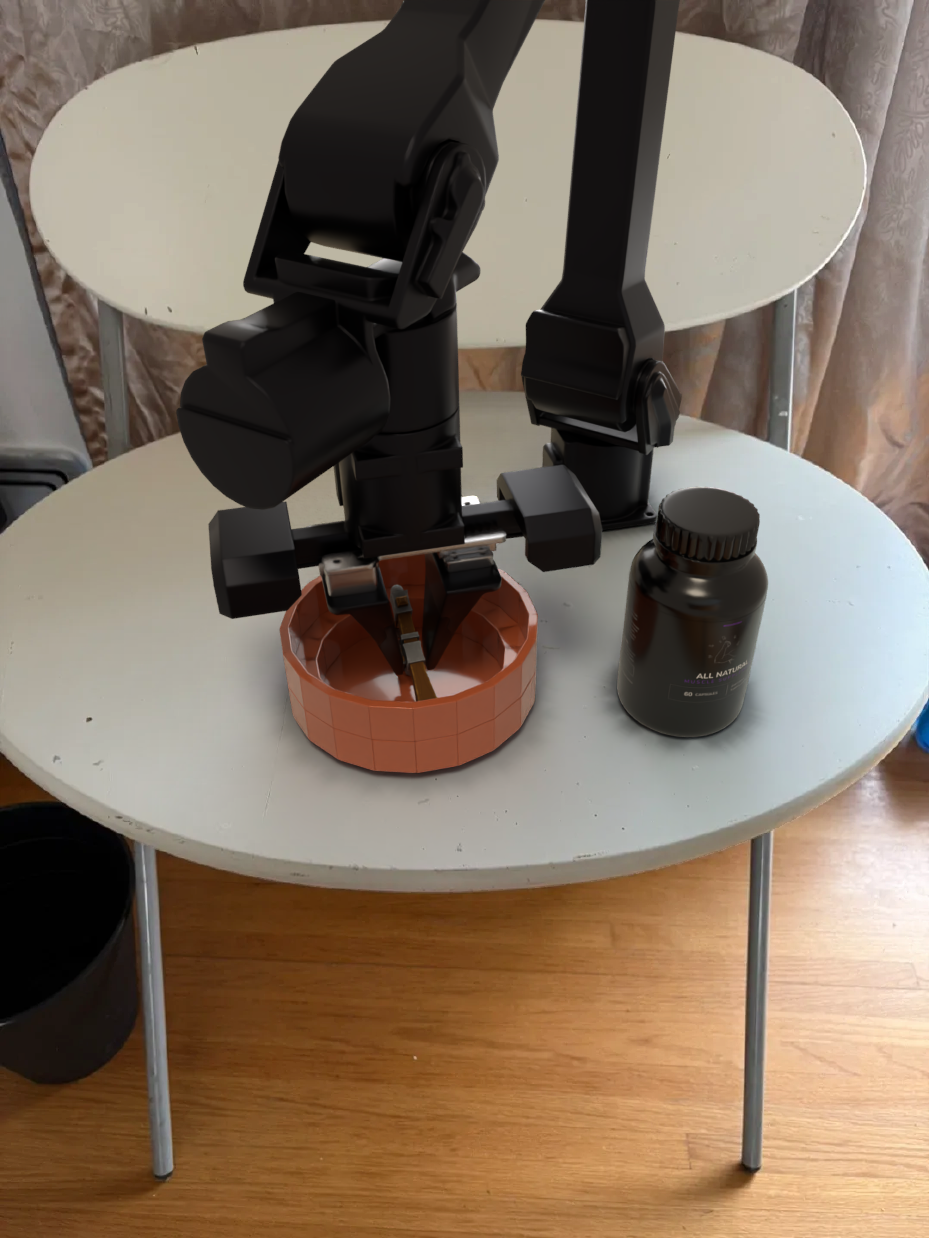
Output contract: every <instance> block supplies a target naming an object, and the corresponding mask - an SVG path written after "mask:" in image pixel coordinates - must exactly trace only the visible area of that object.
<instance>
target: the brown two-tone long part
mask: <svg viewBox="0 0 929 1238" xmlns="http://www.w3.org/2000/svg"><path fill="white" fill-rule="evenodd" d="M390 592H391V593H390V602H391V605H392V609H393V613H394V615H393V620H394V624H395V628H396V632H397V636H398V638H400V639H398V640H399V644H400V648H401V652H402V656H403V671H405V673H406V674H407V675H408V676H411V678H412V682H413V687H414V693H415V699H416V701H422V700H428V699H434V698H437V696H436V694H435V691H434V689H433V687H432V684H431V682H430V680H429V677H428V675H427V672H426V669H425V658H424V656H423V652H422V648H421V641H419V635H418V632H415V629H414V625H413V621H412V612H413V610H412V608H411V605H410V601H409V597H408V590H403V588H402V587H401V586H400V585H394V586H393V587H392V588H391V591H390Z"/></svg>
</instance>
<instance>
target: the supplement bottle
mask: <svg viewBox="0 0 929 1238" xmlns="http://www.w3.org/2000/svg"><path fill="white" fill-rule="evenodd" d="M760 516H761V515H760V513H759V511H758V508H757V507H756V506H755V504H754V503H752V502H751V501H750V500H749V499H748V498H745V497H744V496H743V495H742V494H737V493H736V492H735V491H730V490H727V489H724V488H718V487H715V486H714V487H710V486H693V487H690V486H687V487H685V488H678V489H677V490H672V491H671V492H670V493H667V494H666V495H665V497H663V498H661V502H659V504H658V509H657V520H656V522H655V523H654V528H653V534H652V538H651V539H649V540H648V541H647V542H645V543H644V544H643V545H642V546H641V547H640V548H639V549H638V551H637V552H636V553H635V555H634V557H633V558H632V561H631V564H630V569H629V574H628V575H629V576H628V583H627V592H626V600H625V608H624V618H623V625H622V626H623V627H622V636H621V642H620V643H621V644H620V651H619V661H618V671H617V679H616V680H617V681H616V688H617V689H616V691H617V695H618V698H619V701H620V703H621V705H622V706H623V708H624V709H625V711H626V712H627V713H628V714H629V715H630V716H631V717H632V718H633V719H634V720H635V721H637V722H638V723H639V724H641V725H643V726H644V727H646V728H648V729H649V730H651V731H652V730H653V731H655V732H657V733H660V734H663V735H667V736H672V737H680V738H698V737H699V738H700V737H705V736H708V735H712V734H715V733H717V732H719V731H721V730H724V729H725V728H727V727H728V726H730V725H731V724H732V723H733V722H734V721H735V720H736V719H737V718H738V716H739V714H740V712H741V711H742V708H743V705H744V701H745V697H746V692H747V688H748V685H749V679H750V675H751V671H752V670H751V669H752V666H753V661H754V656H755V652H756V647H757V642H758V637H759V633H760V628H761V624H762V619H763V616H764V615H763V614H764V609H765V605H766V600H767V596H768V590H769V576H768V571H767V569H766V566H765V565H764V563H763V561H762V559H761V558H760V557H759V556H758V554H757V553H756V550H757V547H758V546H757V545H758V534H759V529H760V523H761V521H760V520H761V519H760V518H761V517H760Z"/></svg>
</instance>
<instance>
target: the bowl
mask: <svg viewBox="0 0 929 1238" xmlns="http://www.w3.org/2000/svg"><path fill="white" fill-rule="evenodd" d="M379 568H380V571H381V575H382V578H383V582H384V585H385V589H386V592H387V596H388V599H389V603H390V608H391V612H392V616H393V615H394V613H393V609H392V605H391V602H390V593H391V592H390V591H391V588H392V587H393V586H394V585H400V586H401V587H402V588H403V590H408V597H409V601H410V605H411V608H412V610H413V612H412V621H413V625H414V629H415V632H418V635H419V641H421V648H422V652H423V644H422V624H423V607H424V590H425V575H426V574H425V573H426V566H425V554H422V555H415V556H408V557H401V558H394V559H387V560H381V561H379ZM498 570H499V573H500V575H501V578H502V580H501V587H500V588H499V589H498V590H497V591H494V592H489V593H485V594H484V595H482V597H481V598H480V599H479V601H478V602H477V603H476V604H475V606H474V607H473V608H472V610H471V611H470V612H469V614H468V615H467V616H466V617H465V619H464V620H463V621H462V623H461V624H460V625H459V627H458V629H457V630H456V632H455V634H454V635H453V637H452V639H451V641H450V642H449V644H448V646H447V648H446V650H445V651H444V653H443V655H442V657H441V658H440V660H439V662H438V664H437V665H436V667H435V669H433V670H427V668H426V664H425V669H426V672H427V675H428V677H429V680H430V682H431V684H432V687H433V689H434V691H435V694H436V696H437V698H434V699H428V700H422V701H416V699H415V693H414V687H413V682H412V678H411V676H408V675H407V674H406V673H405V671H403V674H402V675H395V673H394V671H393V670H392V668H391V666H390V665H389V663H388V661H387V660H386V658H385V656H384V655H383V653H382V652H381V650H380V648H379V647H378V645H377V644H376V642H375V641H374V639H373V638H372V637H371V636H370V634H369V633H368V632H367V631H366V630H365V629H364V628H363V627H362V626H361V625H360V624H359V623H358V622H357V621H356V620H355V619H354V617H353V616H352V615H350V614H344V615H335V614H332V613H331V612H330V611H329V610H328V607H327V602H326V597H325V592H324V587H323V582H322V578H321V576H320V575H319V576H317V577H314V579H312V580H310V581H309V582H307V583H306V584H305V586H304V587H303V588H301V593H302V595H301V596H300V598H299V599H298V600H297V601H296V602H295V603H294V604H293V605H292V606H291V607H290V608H289V609H288V610H287V611H284V615H283V618H282V620H281V623H280V626H279V637H280V644H281V651H282V657H283V664H284V670H285V676H286V682H287V686H288V695H289V700H290V707H291V713H292V717H293V719H294V720H295V722H296V724H298V726H299V728H300V729H301V730H302V731H303V734H304V735H305V736H306V738H307V739H308V741H310V742H311V743H312V744H314V745H315V746H317V747H319V748H320V749H322V750H323V751H324V752H326V753H327V754H329V755H331V756H332V757H333V758H335V759H337V760H338V761H341V762H345V763H347V764H351V765H354V766H356V767H361V768H364V769H367V770H370V771H374V772H375V771H376V772H391V773H406V774H409V773H410V774H416V773H417V774H419V773H425V772H431V771H436V770H442V769H443V770H444V769H448V768H453V767H459V766H462V765H464V764H466V763H469V762H471V761H473V760H476V759H478V758H480V757H482V756H484V755H486V754H490V753H491V752H494V751H495V750H496V749H497V748H499V747H500V746H501V745H502V744H503V743H504V742H506V741H507V740H508V739H510V737H512V736H513V735H514V734H515V733H516V732H517V731H519V730H520V729H521V727H522V725H523V724H524V722H525V721H526V718H527V716H528V715H529V713H530V711H531V710H532V707H533V706H534V704H535V702H536V688H537V687H536V685H537V684H536V683H537V662H538V661H537V660H538V631H539V630H538V629H539V628H538V627H539V626H538V625H539V613H538V612H537V610H536V607H535V605H534V603H533V601H532V598H531V597H530V594H529V592H528V591H527V589H526V588H525V587H523V586H522V585H521V584H520V583H519V582H518V581H517V580H515V579H514V578H513V577H512V576H511V575H510V574H509V573H508V572H506V571H505V570H502V569H501V568H498ZM398 639H400V638H398ZM423 656H424V655H423Z"/></svg>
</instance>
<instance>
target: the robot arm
mask: <svg viewBox="0 0 929 1238" xmlns="http://www.w3.org/2000/svg"><path fill="white" fill-rule="evenodd" d="M545 2H546V0H403V1H402V3H401V5H400V7H399V9H398V10H397V12H396V13H395V14H394V16H393V17H392V18H391V19H390V21H388V24H386V25H385V27H384V28H383V29H382V30H381V31H380V32H378V33H376V34H375V35H374V36H371V37H370V38H368V39H366V41H364V42H363V43H361V44H359V45H358V46H356V47H354V48H353V49H351V50H349V51H348V52H346V53H345V54H343V55H342V56H340V57H338V58H337V59H336V60H334V62H333V63H331V65H330V66H329V68H328V69H327V70H326V71H325V73H324V74H323V75H322V77H321V78H319V80H318V81H317V83H316V85H314V86H313V88H312V89H311V91H310V92H309V93H308V95H307V96H306V97H305V98H304V100H303V101H302V102H301V103H300V105H299V106H298V108H297V109H296V110H295V112H294V113H293V115H292V117H291V118H290V120H289V121H288V125H287V127H286V129H285V132H284V135H283V137H282V139H281V142H280V147H279V151H278V152H279V153H278V157H277V159H278V160H277V164H276V167H275V171H274V174H273V178H272V181H271V185H270V188H269V191H268V195H267V198H266V201H265V205H264V209H263V212H262V216H261V219H260V223H259V226H258V229H257V232H256V236H255V240H254V243H253V247H252V250H251V252H250V257H249V260H248V264H247V266H246V271H245V273H244V277H243V281H242V287H243V290H244V291H245V292H246V293H247V294H251V295H254V296H259V297H264V298H267V299H271V300H272V301H273V303H272V304H270V305H267V306H266V307H263V308H262V309H259V310H257V311H255V312H253V313H252V314H249V315H248V316H245V317H243V318H240V319H233V320H227V321H225V322H222V323H220V324H218V325H215V326H214V327H212V328H210V329H207V330H206V331H204V333H203V335H202V338H201V341H202V347H203V352H204V358H205V363H206V364H204V365H202V366H200V367H199V368H196V369H195V370H193V371H192V372H191V373H190V374H189V375H188V377H186V379H185V380H184V382H183V386H182V388H181V391H180V399H179V407H178V408H177V409H176V412H175V413H176V420H177V424H178V425H177V426H178V429H179V432H180V435H181V439H182V441H183V444H184V445H185V448H186V449H187V452H188V454H189V456H190V458H191V459H192V461H193V462H194V464H195V465H196V467H197V468H198V470H199V471H200V473H201V474H202V475H203V476H204V478H205V479H207V481H208V482H209V483H210V484H211V485H212V486H213V487H214V488H215V489H216V490H218V492H220V493H221V494H222V495H224V496H225V497H226V498H228V499H229V500H230V501H233V502H234V503H236V504H238V505H240V506H241V507H234V508H233V507H232V508H226V509H220V510H219V509H218V510H217V511H216V513H214V515H213V517H212V518H211V520H209V523H208V524H207V525H208V539H209V554H210V555H209V557H210V571H211V577H212V578H211V579H212V583H213V589H214V595H215V599H216V604H217V609H218V612H219V615H221V616H224V617H226V618H229V619H231V620H234V619H235V620H236V619H241V618H248V617H253V616H254V617H255V616H262V615H269V614H275V613H281V612H286V611H287V610H288V609H289V608H290V607H291V606H292V605H293V604H294V603H295V602H296V601H297V600H298V599H299V598H300V596H301V595H302V593H301V590H302V587H301V579H300V573H299V572H300V571H299V570H300V569H307V568H314V567H315V568H316V567H318V572H319V576H321V578H322V582H323V587H324V592H325V597H326V602H327V607H328V610H329V611H330V612H331V613H332V614H335V615H344V614H350V615H352V616H353V617H354V619H355V620H356V621H357V622H358V623H359V624H360V625H361V626H362V627H363V628H364V629H365V630H366V631H367V632H368V633H369V634H370V636H371V637H372V638H373V639H374V641H375V642H376V644H377V645H378V647H379V648H380V650H381V652H382V653H383V655H384V656H385V658H386V660H387V661H388V663H389V665H390V666H391V668H392V670H393V671H394V673H395V675H402V674H403V656H402V652H401V648H400V644H399V640H398V636H397V632H396V628H395V624H394V620H393V616H392V612H391V608H390V603H389V599H388V596H387V592H386V589H385V585H384V582H383V578H382V575H381V571H380V568H379V561H381V560H387V559H394V558H401V557H408V556H415V555H422V554H425V566H426V573H425V574H426V575H425V590H424V607H423V624H422V644H423V655H424V658H425V664H426V668H427V670H433V669H435V667H436V665H437V664H438V662H439V660H440V658H441V657H442V655H443V653H444V651H445V650H446V648H447V646H448V644H449V642H450V641H451V639H452V637H453V635H454V634H455V632H456V630H457V629H458V627H459V625H460V624H461V623H462V621H463V620H464V619H465V617H466V616H467V615H468V614H469V612H470V611H471V610H472V608H473V607H474V606H475V604H476V603H477V602H478V601H479V599H480V598H481V597H482V595H484V594H485V593H489V592H494V591H497V590H498V589H499V588H500V587H501V580H502V578H501V575H500V573H499V570H498V569H499V568H498V566H497V564H496V561H495V559H494V552H497V544H504V543H505V542H506V541H507V540H509V539H517V538H524V556H525V558H526V560H527V562H528V563H530V564H531V565H532V566H534V567H535V568H536V569H538V570H539V571H541V572H542V573H547V572H554V571H561V570H568V569H574V568H575V569H576V568H580V567H588V566H594V565H595V564H596V562H597V561H599V559H600V558H601V554H602V553H601V552H602V542H603V541H602V539H603V531H605V530H607V531H608V530H612V529H622V528H628V527H637V526H641V525H642V526H643V525H648V524H649V525H650V524H655V523H656V522H657V516H658V512H656V511H655V509H654V507H653V506H652V505H651V503H650V502H649V499H650V488H651V477H652V468H653V461H654V460H653V459H654V451H655V448H661V447H669V446H671V445H672V443H673V442H674V435H675V427H676V425H677V421H678V420H679V417H680V415H681V412H680V411H681V410H680V408H681V403H682V399H683V394H682V392H681V390H680V389H679V387H678V385H677V383H676V381H675V380H674V378H673V376H672V374H671V372H670V371H669V369H668V367H667V365H666V364H665V363H664V361H663V360H664V345H665V331H666V325H665V322H664V320H663V317H662V315H661V313H660V310H659V308H658V306H657V303H656V302H655V299H654V297H653V295H652V292H651V290H650V288H649V286H648V283H647V281H646V269H647V260H648V252H649V244H650V236H651V229H652V220H653V213H654V204H655V197H656V190H657V189H656V188H657V181H658V174H659V165H660V157H661V151H662V150H661V149H662V143H663V134H664V127H665V117H666V110H667V103H668V102H667V101H668V97H669V88H670V80H671V79H670V78H671V70H672V65H673V63H672V62H673V55H674V49H675V48H674V47H675V40H676V33H677V24H678V23H677V22H678V17H679V9H680V2H681V0H585V7H584V20H583V28H582V29H583V31H582V42H581V43H582V44H581V55H580V64H579V65H580V66H579V79H578V90H577V101H576V114H575V126H574V137H573V149H572V161H571V171H570V183H569V195H568V207H567V217H566V218H567V219H566V229H565V242H564V254H563V266H562V273H561V279H560V281H559V282H558V283H557V285H556V287H555V288H554V289H553V291H552V292H551V293H550V295H549V297H548V298H547V299H546V301H545V302H544V304H543V305H542V306H541V307H540V309H537V310H533V311H532V312H531V313H530V315H529V317H528V319H527V321H526V322H525V351H524V355H523V358H522V362H521V363H522V364H521V371H520V376H521V381H522V387H523V391H524V397H525V401H526V405H527V410H528V414H529V419H530V423H531V425H534V426H536V427H537V426H538V427H540V426H542V427H546V428H550V429H551V430H550V442H545V443H544V445H543V446H542V461H541V462H542V465H541V467H535V468H527V469H519V470H512V471H505V472H501V473H500V474H499V475H498V477H497V478H496V498H497V500H494V501H486V502H481V501H480V499H479V497H478V496H476V495H467V496H463V492H462V491H463V489H462V488H463V487H462V469H463V468H464V454H463V453H464V449H463V445H462V443H461V414H460V413H461V411H460V410H461V409H460V372H459V369H460V367H459V336H458V334H459V331H458V329H459V328H458V302H457V301H458V295H457V293H458V292H459V291H461V290H462V289H465V287H467V286H469V285H470V284H472V283H474V282H476V281H477V280H479V278H480V276H481V265H480V264H479V263H478V262H476V261H475V260H474V259H473V258H472V257H471V256H469V255H468V254H466V253H465V252H464V250H465V248H466V246H467V244H468V243H469V241H470V239H471V237H472V235H473V233H474V232H475V229H476V228H477V226H478V223H479V221H480V218H481V216H482V213H483V211H484V209H485V208H486V207H485V206H486V196H487V193H488V191H489V188H490V186H491V183H492V180H493V177H494V174H495V173H496V170H497V167H498V164H499V161H500V155H499V148H498V147H499V146H498V140H497V133H496V125H495V118H494V108H495V106H496V103H497V101H498V98H499V96H500V92H501V91H502V90H501V89H502V87H503V85H504V83H505V80H506V79H507V76H508V74H509V72H510V71H511V69H512V66H513V65H514V63H515V61H516V59H517V57H518V56H519V52H520V51H521V49H522V47H523V45H524V43H525V41H526V39H527V37H528V35H529V33H530V31H531V29H532V27H533V26H534V23H535V21H536V19H537V17H538V15H539V13H540V12H541V9H542V8H543V5H544V4H545ZM311 243H313V244H316V245H319V246H323V247H327V248H331V249H335V250H340V251H346V252H351V253H356V254H360V255H366V256H371V257H375V258H379V260H378V261H375V262H373V263H372V264H370V265H368V266H364V265H359V264H354V263H349V262H345V261H340V260H336V259H335V260H334V259H330V258H326V257H322V256H315V255H311V254H307V253H306V252H307V250H308V248H309V247H310V245H311ZM332 468H333V474H334V475H333V476H334V483H335V491H336V492H335V493H336V494H335V495H336V497H337V501H338V506H339V507H343V515H344V519H343V520H338V521H330V522H324V523H315V524H309V525H306V526H305V527H299V528H292V525H291V520H290V519H291V518H290V513H289V508H288V503H287V501H286V500H288V499H289V498H290V497H291V496H293V495H295V494H296V493H297V492H298V491H300V490H301V489H304V487H306V486H307V485H309V484H310V483H312V482H313V481H315V480H316V479H318V478H319V477H320V476H322V475H323V474H324V473H326V472H328V471H329V470H330V469H332Z"/></svg>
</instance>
